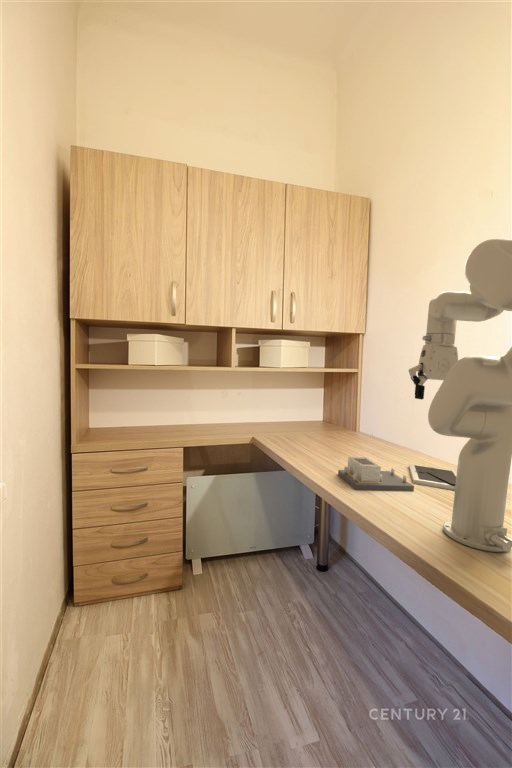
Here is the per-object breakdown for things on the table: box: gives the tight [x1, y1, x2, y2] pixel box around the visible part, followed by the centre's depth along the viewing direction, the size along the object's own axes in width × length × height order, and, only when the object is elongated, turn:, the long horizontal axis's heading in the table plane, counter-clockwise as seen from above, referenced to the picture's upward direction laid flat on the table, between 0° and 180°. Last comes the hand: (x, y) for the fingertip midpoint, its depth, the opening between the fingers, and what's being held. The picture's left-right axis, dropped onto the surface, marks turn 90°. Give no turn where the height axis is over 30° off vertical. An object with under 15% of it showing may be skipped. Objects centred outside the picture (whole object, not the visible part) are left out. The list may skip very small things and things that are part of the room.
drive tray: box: [337, 466, 415, 492], centre depth 111 cm, size 14×18×4 cm
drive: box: [347, 456, 382, 483], centre depth 110 cm, size 10×6×5 cm, turn 9°
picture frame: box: [408, 463, 457, 491], centre depth 120 cm, size 16×3×21 cm
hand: (434, 399), depth 102 cm, fingers open, 9 cm apart
